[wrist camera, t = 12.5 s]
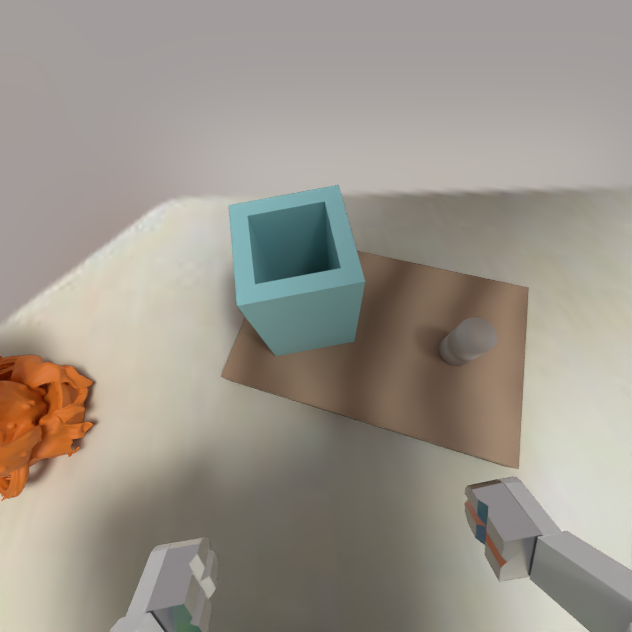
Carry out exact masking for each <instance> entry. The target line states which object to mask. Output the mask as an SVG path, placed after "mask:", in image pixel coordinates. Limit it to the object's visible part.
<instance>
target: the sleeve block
mask: <svg viewBox="0 0 632 632" xmlns="http://www.w3.org/2000/svg"><path fill="white" fill-rule="evenodd" d="M229 216H230V228H231V241H232V253H233V265H234V277H235V290H236V302H237V307H238V308H239V309H240V311H241V312H242V313H243V315H244V316H245V317H246V318H247V320H248V321H249V322H250V324H251V325H252V326H253V327H254V329H255V330H256V331H257V333H258V334H259V335H260V337H261V338H262V339H263V340H264V342H265V343H266V344H267V346H268V347H269V348H270V350H271V351H272V352H273V353H274V355H275V356H281V355H286V354H291V353H297V352H302V351H307V350H312V349H318V348H323V347H328V346H333V345H339V344H344V343H349V342H354V341H355V335H356V330H357V324H358V319H359V313H360V308H361V302H362V297H363V291H364V285H365V279H364V275H363V272H362V268H361V264H360V261H359V257H358V253H357V250H356V246H355V243H354V239H353V235H352V232H351V228H350V224H349V221H348V217H347V213H346V210H345V206H344V202H343V199H342V195H341V192H340V188H339V185H335V186H330V187H325V188H319V189H314V190H309V191H303V192H298V193H292V194H287V195H282V196H276V197H271V198H266V199H260V200H255V201H250V202H244V203H239V204H234V205H229Z"/></svg>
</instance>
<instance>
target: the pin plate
mask: <svg viewBox="0 0 632 632" xmlns="http://www.w3.org/2000/svg"><path fill="white" fill-rule="evenodd" d="M357 253H358V257H359V261H360V264H361V268H362V272H363V275H364V279H365V285H364V291H363V297H362V302H361V308H360V313H359V319H358V324H357V330H356V335H355V341H354V342H349V343H344V344H339V345H333V346H328V347H323V348H318V349H312V350H307V351H302V352H297V353H291V354H286V355H281V356H275V355H274V353H273V352H272V351H271V350H270V348H269V347H268V346H267V344H266V343H265V342H264V340H263V339H262V338H261V337H260V335H259V334H258V333H257V331H256V330H255V329H254V327H253V326H252V325H251V324H250V322H249V321H248V320H247V318H246V317H245V320H244V322H243V324H242V327H241V329H240V332H239V334H238V336H237V339H236V341H235V344H234V346H233V349H232V351H231V353H230V356H229V358H228V361H227V363H226V365H225V368H224V370H223V373H222V375H221V377H223V378H225V379H227V380H230V381H233V382H236V383H240V384H243V385H246V386H249V387H252V388H256V389H259V390H262V391H265V392H268V393H272V394H275V395H278V396H281V397H285V398H288V399H291V400H294V401H297V402H301V403H304V404H307V405H310V406H313V407H317V408H320V409H323V410H326V411H329V412H333V413H336V414H339V415H342V416H345V417H349V418H352V419H355V420H358V421H362V422H365V423H368V424H371V425H374V426H378V427H381V428H384V429H387V430H390V431H394V432H397V433H400V434H403V435H406V436H410V437H413V438H416V439H419V440H423V441H426V442H429V443H432V444H435V445H439V446H442V447H445V448H448V449H451V450H455V451H458V452H461V453H464V454H467V455H471V456H474V457H477V458H480V459H483V460H487V461H490V462H493V463H496V464H500V465H503V466H506V467H511V468H516V469H519V453H520V434H521V416H522V398H523V379H524V361H525V343H526V324H527V306H528V288H527V287H523V286H518V285H513V284H509V283H504V282H499V281H495V280H490V279H485V278H481V277H476V276H471V275H467V274H462V273H457V272H453V271H448V270H443V269H439V268H434V267H429V266H425V265H420V264H415V263H411V262H406V261H401V260H397V259H392V258H387V257H383V256H378V255H373V254H369V253H364V252H359V251H357Z"/></svg>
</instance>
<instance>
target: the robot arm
mask: <svg viewBox="0 0 632 632" xmlns="http://www.w3.org/2000/svg"><path fill="white" fill-rule="evenodd" d="M465 495H466V496H467V498H468V500H467V501H466V502H465V514H466V517H467V521H468V523H469V526H470V528H471V530H472V532H473V534H474V536H475V538H476V539H478V540H479V541H480V542H482V543H483V544H484V545H485V556H486V558H487V560H488V562H489V564H490V566H491V568H492V569H493V571H494V573H495V575H496V577H497V579H498V580H499V582H501V581H507V580H513V579H519V578H526V577H530V580H532V581H533V582H534V583H535V584H536V585H537V586H538V587H540V588H541V589H542V590H543V591H544V592H545V593H546V594H548V595H549V596H550V597H551V598H552V599H553V600H554V601H556V602H557V603H558V604H559V605H560V606H561V607H562V608H564V609H565V610H566V611H567V612H568V613H569V614H570V615H572V616H573V617H574V618H575V619H576V620H577V621H578V622H580V623H581V624H582V625H583V626H584V627H585V628H586V629H588V630H589V631H590V632H632V570H630V569H628V568H627V567H625V566H623V565H622V564H620V563H619V562H617V561H615V560H614V559H612V558H610V557H609V556H607V555H606V554H604V553H602V552H601V551H599V550H597V549H596V548H594V547H593V546H591V545H589V544H588V543H586V542H584V541H583V540H581V539H580V538H578V537H576V536H575V535H573V534H571V533H570V532H568V531H564V532H562V531H561V530H560V529H559V527H558V526H557V525H556V524H555V522H554V521H553V520H552V519H551V517H550V516H549V515H548V514H547V513H546V511H545V510H544V509H543V508H542V506H541V505H540V504H539V503H538V501H537V500H536V499H535V498H534V496H533V495H532V494H531V493H530V492H529V490H528V489H527V488H526V487H525V485H524V484H523V483H522V482H521V480H519V479H518V478H517V477H508V478H504V479H499V480H497V479H496V480H492V481H487V482H482V483H478V484H473V485H469V486H467V487H466V488H465ZM209 546H210V542H209V540H208V538H207V537H201V538H196V539H190V540H185V541H180V542H173V543H168V544H163V545H158V546H155V548H154V549H153V550H152V552H151V553H150V556H149V558H148V561H147V563H146V566H145V568H144V571H143V573H142V576H141V578H140V581H139V584H138V586H137V589H136V591H135V594H134V596H133V599H132V601H131V604H130V606H129V609H128V611H127V614H126V616H125V617H122V618H120V619H119V620H118V621H117V622H116V624H115V625H114V626H113V627H112V628H111V630H110V631H109V632H208V627H209V622H210V617H211V612H212V606H211V603H210V600H209V598H210V597H211V595H212V594H213V592H214V591H215V589H216V586H217V580H218V559H217V556H216V554H215V552H214V551H212V550H210V549H209Z"/></svg>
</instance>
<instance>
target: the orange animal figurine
mask: <svg viewBox="0 0 632 632" xmlns="http://www.w3.org/2000/svg"><path fill="white" fill-rule="evenodd" d="M0 370H1V371H0V493H1V494H2V496H4V497H3V499H2V501H3V500H4V499H6V498H8V499H9V498H12V497H16V496H18V495H19V494H20V493H21V492H22V490H23V488H24V487H25V484H26V482H27V479H28V475H29V467H30V466H32V465H33V464H35V463H36V462H37V461H39V460H42V459H45V458H54V457H57V456H60V455H65V454H68V455H69V457H70V456H71V455H72V453H75V452H77V451H78V450H79V448H80V447H77V448H76V449H75V450H74V451H73V450H72V448H71V444H73V439H78V438H82V437H84V435H85V433H86V432H87V430H88V429H89V428H90V427H92V426H93V424H92V423H91V422H83V420H84V415H85V405H84V401H85V399H86V397H87V394H88V389H87V386H91V385H92V384H93V381H92V380H89V379H87V378H85V377H84V376H81V375H79V373H78V372H77V371H76V370H75V368H74V367H71V366H69V365H63V366H61V365H57V364H53V363H51V362H43V359H42V358H41V357H40V356H37V355H22V356H10V357H5V358H2V357H1V356H0ZM74 388H75V389H74ZM76 389H77V390H76ZM9 475H11V477H7V476H9ZM10 480H11V481H10Z"/></svg>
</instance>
